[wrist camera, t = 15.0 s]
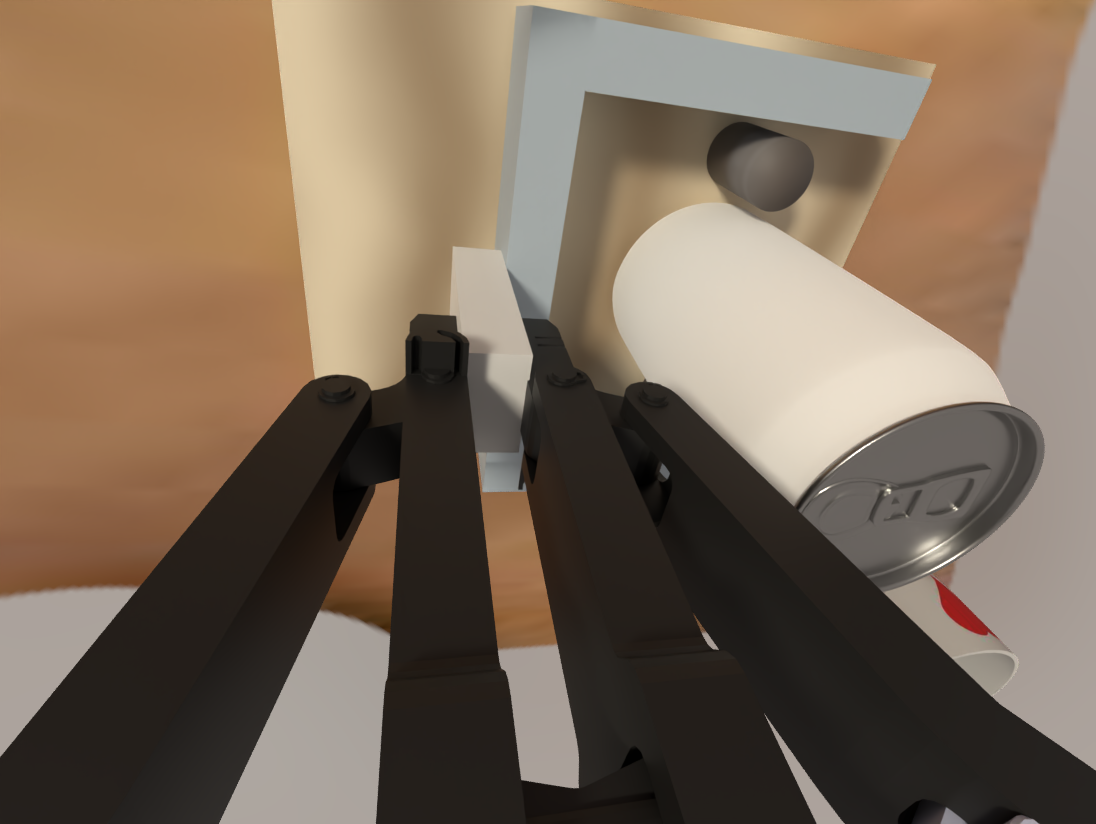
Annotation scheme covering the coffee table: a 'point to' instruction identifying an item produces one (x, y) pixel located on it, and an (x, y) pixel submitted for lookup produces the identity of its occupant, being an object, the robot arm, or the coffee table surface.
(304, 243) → the base plate
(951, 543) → the can
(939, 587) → the cup
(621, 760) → the robot arm
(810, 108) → the grey frame
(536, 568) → the coffee table surface
